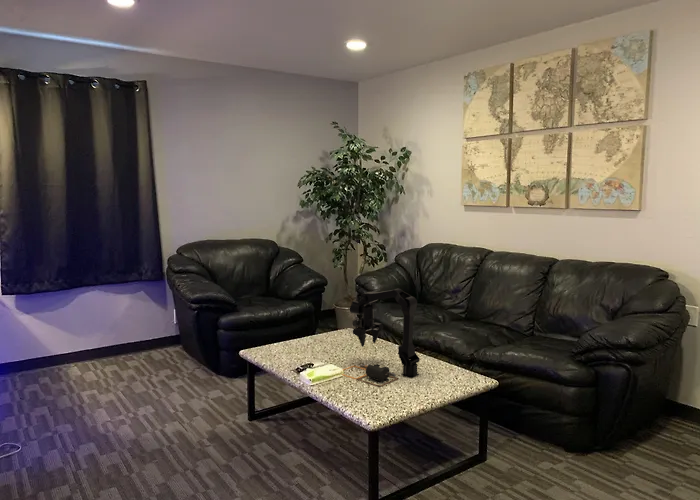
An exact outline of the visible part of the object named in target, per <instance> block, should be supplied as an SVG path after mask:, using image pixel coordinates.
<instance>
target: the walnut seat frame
mask: <svg viewBox="0 0 700 500" xmlns="http://www.w3.org/2000/svg"><path fill="white" fill-rule="evenodd" d="M385 375H386V374H385ZM365 378H369V377H368V376H367V375H366V376H364V377H361V378H359V379H357V380H356V381H359V382H361V383H364V384H367V385H371V386H375V387H377V388H381V387H383V386H384V387H385V386H386V385H388V384H391V383H392V382H395V381H398V380H400V379H399V377H396V376H395V377H393V376H390V375H389V377H388V378H392V380H388V381H386V382H383V384H380V385H379V384H376V383H373V382H370V381H367V380H364V379H365Z"/></svg>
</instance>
